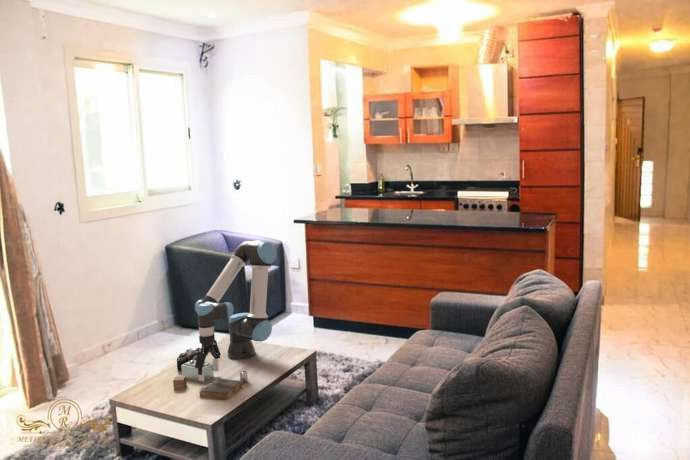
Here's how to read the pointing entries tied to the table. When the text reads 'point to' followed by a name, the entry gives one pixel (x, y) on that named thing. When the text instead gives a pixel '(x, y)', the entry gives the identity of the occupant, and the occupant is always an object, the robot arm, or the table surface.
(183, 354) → the camera
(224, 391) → the grey brown flat block
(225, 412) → the table surface
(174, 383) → the walnut block
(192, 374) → the housing
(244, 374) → the steel cup
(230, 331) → the robot arm
